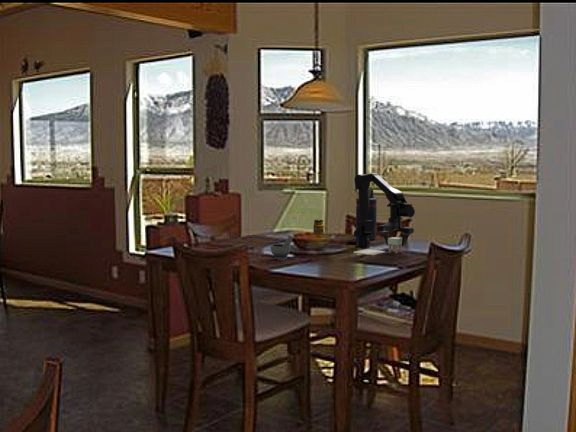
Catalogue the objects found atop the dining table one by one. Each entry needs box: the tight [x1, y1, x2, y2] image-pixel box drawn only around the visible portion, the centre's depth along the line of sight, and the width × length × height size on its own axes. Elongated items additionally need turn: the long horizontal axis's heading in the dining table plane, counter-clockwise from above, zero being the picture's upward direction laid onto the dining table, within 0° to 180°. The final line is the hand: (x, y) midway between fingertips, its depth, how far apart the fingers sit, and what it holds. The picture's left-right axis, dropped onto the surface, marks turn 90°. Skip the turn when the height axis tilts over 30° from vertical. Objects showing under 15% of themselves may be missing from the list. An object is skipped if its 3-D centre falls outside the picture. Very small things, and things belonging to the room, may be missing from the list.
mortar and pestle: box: [270, 234, 294, 261], centre depth 340 cm, size 11×9×12 cm
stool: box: [388, 236, 403, 254], centre depth 361 cm, size 6×6×8 cm
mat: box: [353, 248, 386, 256], centre depth 360 cm, size 12×12×1 cm
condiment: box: [312, 219, 325, 234], centre depth 404 cm, size 7×8×12 cm
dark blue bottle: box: [355, 188, 378, 241], centre depth 406 cm, size 14×12×30 cm
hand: (395, 245), depth 361 cm, fingers open, 9 cm apart
